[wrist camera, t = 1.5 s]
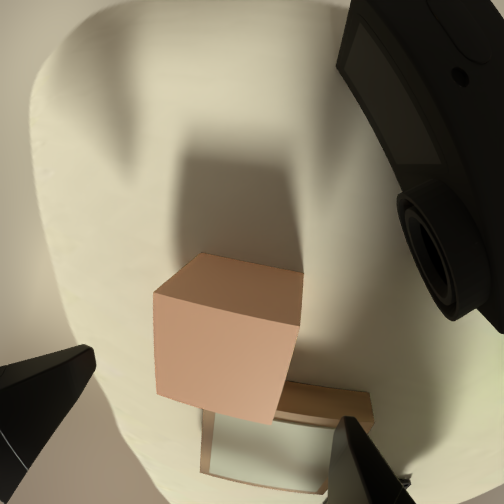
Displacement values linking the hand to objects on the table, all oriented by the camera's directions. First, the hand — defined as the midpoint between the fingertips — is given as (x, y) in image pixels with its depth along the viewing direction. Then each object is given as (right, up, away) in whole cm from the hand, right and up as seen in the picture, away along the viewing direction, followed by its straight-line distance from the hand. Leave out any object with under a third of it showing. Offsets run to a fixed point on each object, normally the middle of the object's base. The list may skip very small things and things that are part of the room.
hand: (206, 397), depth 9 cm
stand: (+3, -7, +8) cm, 11 cm away
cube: (+1, +2, +6) cm, 7 cm away
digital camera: (+9, +9, +3) cm, 13 cm away
